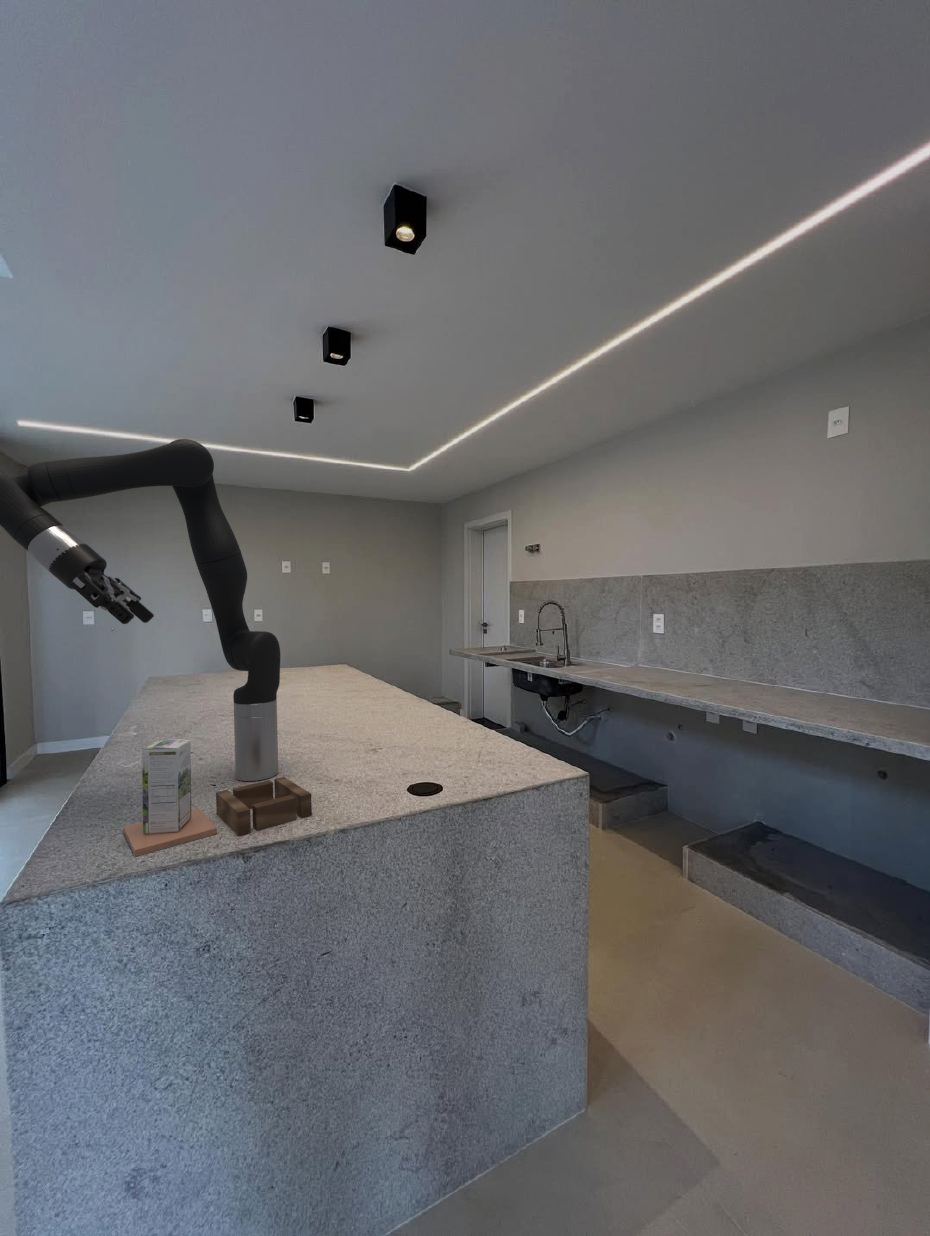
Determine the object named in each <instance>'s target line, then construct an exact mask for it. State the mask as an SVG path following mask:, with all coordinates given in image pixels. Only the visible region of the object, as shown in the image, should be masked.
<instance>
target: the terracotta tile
mask: <svg viewBox="0 0 930 1236" xmlns="http://www.w3.org/2000/svg"><path fill="white" fill-rule="evenodd" d="M122 832H123V835H124V837H125V840H126V842H127V844H128V845H129V847H130V850H131V851H132V853H133V856H134V857H138V856H142V855H146V854H149V853H153V852H157V851H161V850H165V849H167V848H171V847H174V846H178V845H183V844H186V843H189V842H193V841H195V840H197V841H198V840H200V839H202V838H203V839H204V838H207V837H210V836H215V835H217V834H218V828H217V826H216V825H215V824H214V823H213V822H212V821H211V820H210V819H209V817H207V816H206V814H205V813H204V812H203V811H202V810H201V809H200V808H199V807H197V808H191V819H190V820H189V821H188V822H187V823H186V824H185V825H184V826H183V827H182V828H181V830H180V831H178V832H168V833H155V834H143V821H140V822H139V821H138V822H135V823H131V824H127V825H123V826H122Z"/></svg>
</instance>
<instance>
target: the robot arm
mask: <svg viewBox="0 0 930 1236" xmlns="http://www.w3.org/2000/svg"><path fill="white" fill-rule="evenodd" d="M214 468H215V462H214V459H213V456H212V454H211V453H210V451H209V450H208V449H207V448H206V447H205V446H204V445H203V444H201V443H200V442H198V441H196V440H193V439H189V438H179V439H175V440H172V441H171V442H169V443H167V444H163V445H159V446H156V447H154V448H153V447H152V448H149V449H147V450H142V451H136V452H129V453H123V454H116V455H115V454H113V455H102V456H101V455H100V456H90V457H87V456H86V457H76V458H66V459H60V460H53V461H51V460H50V461H49V460H48V461H42V462H38V463H33V464H31V465H30V466H29V467H28V468H27V473H25V474H21V475H19V476H13V477H10V476H8V475H7V474H6V473H5V472H4V471H3V470H2V469H0V526H1V528H2V529H3V530H4V531H6V532H7V534H8V535H9V536H10V537H11V538H12V539H13V540H15V541H16V543H17V544H19V545H20V546H21V547H22V548H24V550H26V551H27V553H29V554H31V556H33V558H34V559H35V560H36V561H37V562H38V563H39V564H40V565H41V566H42V567H43V568H44V569H46V571H48V572H49V573H50V574H51V575H52V576H54V578H56V579H57V580H58V581H60V582H61V583H62V584H63V585H64V586H66V588H68V589H70V590H75V591H76V592H77V593H78V594H80V596H81V597H83V598H84V599H85V600H86V601H87V602H88V603H89V604H91V606H93V607H94V608H96V609H98V608H100V609H101V610H104V611H107V612H108V613H109V614H110V615H112V617H114V618H115V619H116V620H118V621H119V623H121V624H122V625H127V624H129V623H130V622H131V621H132V620H133V619H134V618H135V617H136V618H138V619H139V620H140V621H141V622H142V623H144V624H147V623H149V622H150V621H151V620H152V619H153V618H154V613H153V612H152V611H151V610H149V608H147V607H145V605H144V604H143V603H142V602H141V600H142V597H141V595H139V594H137V593H136V592H135V591H134V590H133V589H132V588H130V587H129V586H128V585H126V583H124V582H123V581H122V580H121V579H120V578H118V577H113V576H111V575H110V576H108V575H106V574H105V569H106V568H107V560H106V559H104V557H102V556H101V555H100V554H99V553H98V552H97V551H96V550H94V549H93V548H92V547H91V546H89V544H87V542H86V541H84V540H83V539H82V538H81V537H79V536H78V535H77V534H76V533H74V532H73V531H72V530H70V529H68V528H67V527H66V526H65V525H64V524H62V523H61V522H60V521H59V520H58V519H57V518H55V516H53V515H52V514H51V513H49V512H48V511H47V510H46V509H44V508H43V506H47V505H48V504H51V503H58V502H66V501H71V500H78V499H84V498H92V497H98V496H101V495H107V494H111V493H115V492H121V491H127V490H131V489H132V490H133V489H139V488H149V487H170V486H171V487H172V488H173V490H174V493H175V495H176V497H177V499H178V502H179V504H180V506H181V509H182V513H183V516H184V519H185V520H184V521H185V524H186V529H187V534H188V540H189V544H190V547H191V551H192V554H193V559H194V561H195V564H196V567H197V570H198V572H199V576H200V578H201V581H202V583H203V586H204V588H205V591H206V594H207V597H208V600H209V603H210V606H211V610H212V613H213V616H214V619H215V622H216V628H217V631H218V636H219V640H220V644H221V650H222V653H223V655H224V658H225V661H226V663H227V664H228V665H229V667H231V668H232V669H234V670H236V671H240V672H247V680H246V682H245V684H244V685H242V686H240V687H237V688H236V689H235V690H234V691H233V697H232V698H233V725H234V727H233V729H234V734H233V735H234V771H235V772H234V773H235V774H234V776H235V780H238V781H241V782H256V781H261V780H262V781H263V780H267V779H271V778H273V777H275V776H277V775H278V773H279V746H278V745H279V742H278V741H279V740H278V739H279V738H278V705H277V704H278V701H277V698H278V697H277V696H278V695H277V693H278V691H279V688H280V680H281V646H280V642H279V640H278V638H277V636H275V634H273V633H272V632H269V631H262V630H259V631H258V630H257V631H254V630H253V631H251V630H250V628H249V626H248V623H247V621H246V618H245V613H244V610H243V608H244V605H243V602H244V596H245V593H246V589H247V588H246V587H247V583H248V570H247V566H246V564H245V561H244V557H243V553H242V550H241V548H240V545H239V542H238V540H237V538H236V536H235V533H234V531H233V529H232V527H231V525H230V523H229V520H228V519H227V517H226V515H225V513H224V511H223V509H222V506H221V504H220V500H219V498H218V497H219V495H218V493H217V489H216V485H215V484H216V483H215V479H214V475H213V473H214ZM127 598H128V599H130V600H128V599H127Z"/></svg>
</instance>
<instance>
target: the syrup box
mask: <svg viewBox="0 0 930 1236" xmlns="http://www.w3.org/2000/svg"><path fill="white" fill-rule="evenodd" d="M191 742H192V741H191V740H189V739H179V738H178V739H177V738H174V739H172V738H171V739H161V740H157V741H155V742H154V743H152V744H150V745H148V746H147V747H145V748H143V749H142V750H141V751H142V753H141V755H142V756H141V757H142V758H141V759H142V760H141V761H142V762H141V763H142V765H141V766H142V769H141V770H142V774H141V775H142V822H143V834H155V833H168V832H178V831H180V830H181V828H182V827H183V826H184V825H185V824H186V823H187V822H188V821H189V820H190V819H191V810H192V762H191V761H192V759H191V757H192V756H191V755H192V754H191V753H192V752H191V748H192V747H191V745H192V743H191Z"/></svg>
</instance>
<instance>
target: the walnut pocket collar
mask: <svg viewBox="0 0 930 1236" xmlns="http://www.w3.org/2000/svg"><path fill="white" fill-rule="evenodd" d="M215 802H216V803H215V804H216V807H215V808H216V810H215V811H216V815H217V816H219V817H220V818H221V820H222V821H223V822H224V823H225V824H226V825H227V826H228V827H229V828H230V829H231V830H232V831H233V832H234V834H236V835H237V836H238V837H241V836H243V835H248V834H250V833H252V828H253V829H255V831H256V832H257V831H261V830H265V829H269V828H272V827H275V826H278V825H281V824H285V823H288V822H293V821H295V820H297V816H298V817H299V818H301V819H303V818H307V817H310V816H312V809H313V808H312V793H311V792H310V791H308V790H306V789H304V787H301V786H300V785H298V784H296V782H293V781H291V780H290V779H289V778H287V777H286V776H282V777H278V778H274V779H273V781H271V780H270V779H269V780H264V781H260V782H256V783H251V784H248V785H247V784H246V785H243V786H239V787H234V788H232V792H230V791H229V789H225V790H221V791H216V792H215ZM251 809H252V818H251ZM251 819H252V820H251ZM251 823H252V825H251Z"/></svg>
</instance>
